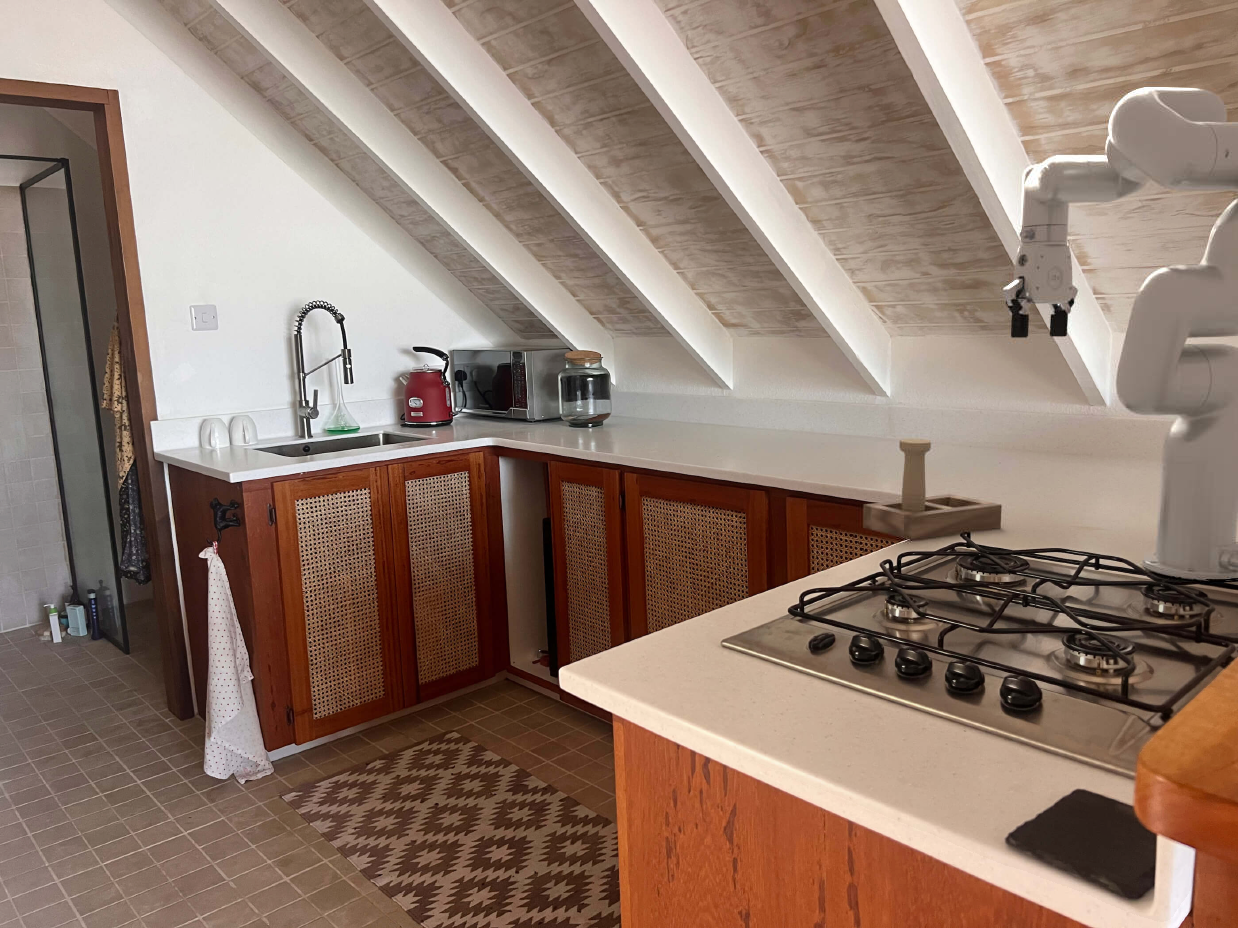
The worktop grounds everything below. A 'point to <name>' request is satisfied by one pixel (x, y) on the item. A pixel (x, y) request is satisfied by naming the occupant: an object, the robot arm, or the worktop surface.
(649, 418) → the worktop surface
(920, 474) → the handle
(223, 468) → the worktop surface
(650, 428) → the worktop surface
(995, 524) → the grey rectangular tray
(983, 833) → the worktop surface
